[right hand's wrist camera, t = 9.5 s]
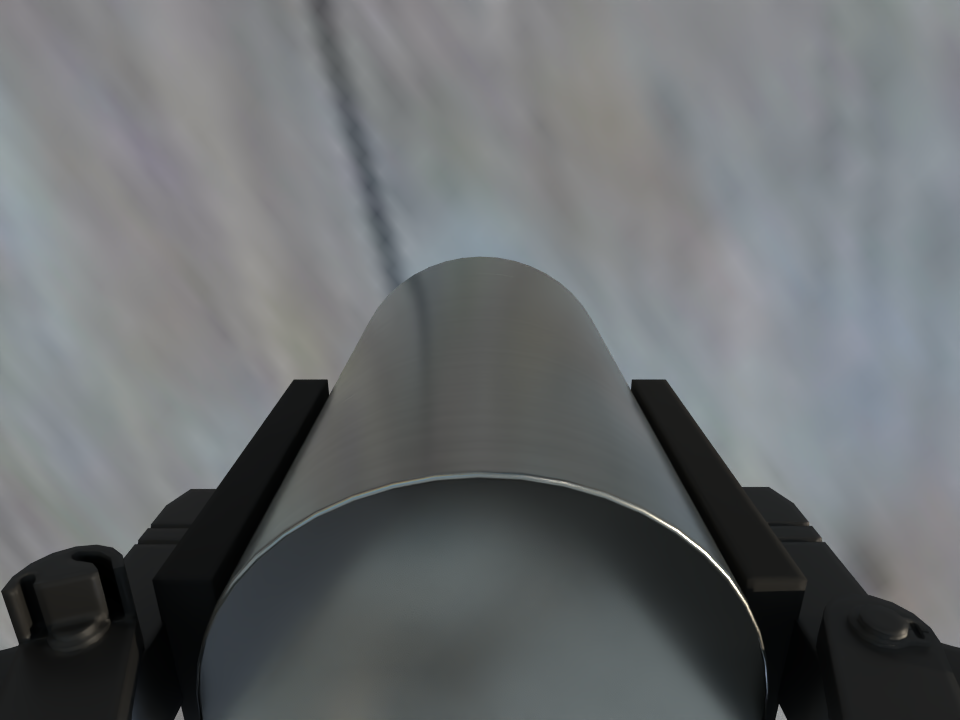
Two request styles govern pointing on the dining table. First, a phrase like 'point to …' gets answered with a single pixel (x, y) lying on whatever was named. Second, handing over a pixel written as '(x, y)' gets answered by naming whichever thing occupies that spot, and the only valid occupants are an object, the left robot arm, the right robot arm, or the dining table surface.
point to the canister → (482, 536)
